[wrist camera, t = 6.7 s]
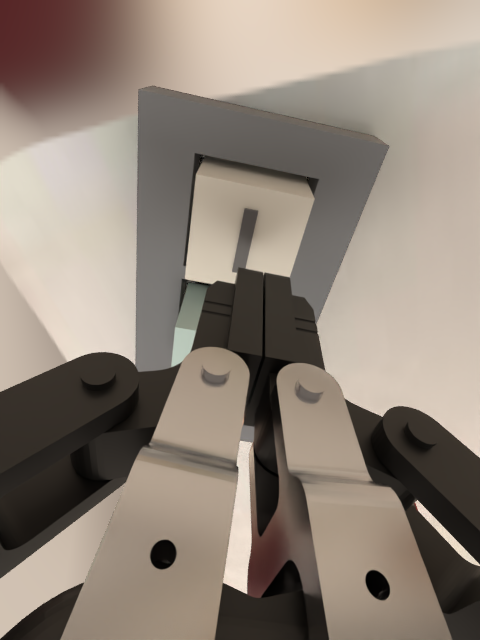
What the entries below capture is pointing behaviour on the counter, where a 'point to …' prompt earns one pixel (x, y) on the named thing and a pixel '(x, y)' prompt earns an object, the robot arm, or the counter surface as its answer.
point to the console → (250, 148)
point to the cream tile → (245, 220)
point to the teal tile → (188, 321)
